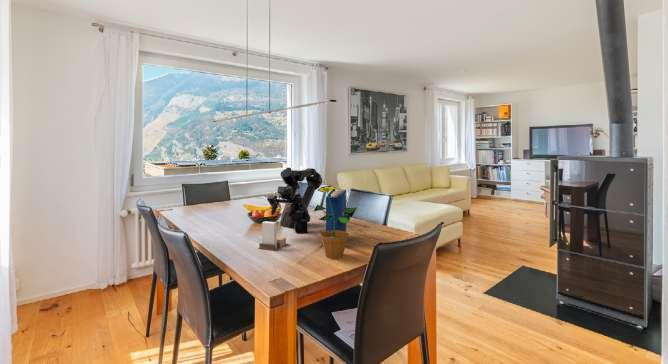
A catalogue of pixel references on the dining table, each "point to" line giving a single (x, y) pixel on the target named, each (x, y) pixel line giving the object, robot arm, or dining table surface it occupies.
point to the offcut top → (281, 239)
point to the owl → (287, 220)
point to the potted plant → (334, 238)
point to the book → (336, 209)
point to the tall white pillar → (269, 233)
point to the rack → (269, 246)
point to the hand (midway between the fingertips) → (280, 215)
